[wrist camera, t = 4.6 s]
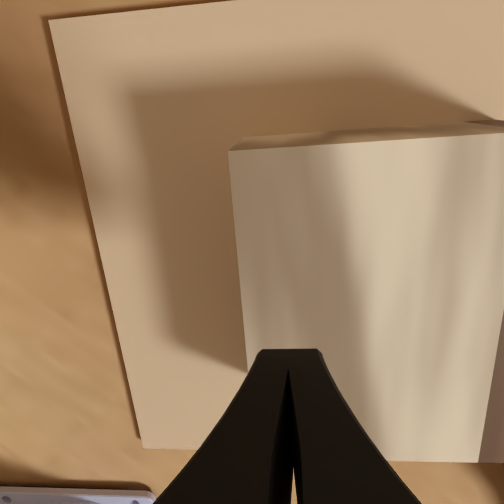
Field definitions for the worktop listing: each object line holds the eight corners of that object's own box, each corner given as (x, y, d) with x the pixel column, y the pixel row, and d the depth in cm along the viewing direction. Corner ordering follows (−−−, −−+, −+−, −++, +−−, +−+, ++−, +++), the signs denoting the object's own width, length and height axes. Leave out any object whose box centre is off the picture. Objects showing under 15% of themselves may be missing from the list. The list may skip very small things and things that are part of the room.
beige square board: (146, 441, 19) (143, 448, 19) (55, 22, 13) (48, 20, 13) (493, 447, 18) (498, 454, 17) (582, -34, 11) (592, -39, 11)
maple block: (256, 458, 13) (511, 463, 12) (227, 151, 10) (581, 128, 9) (263, 379, 17) (460, 379, 16) (244, 137, 13) (495, 119, 13)
